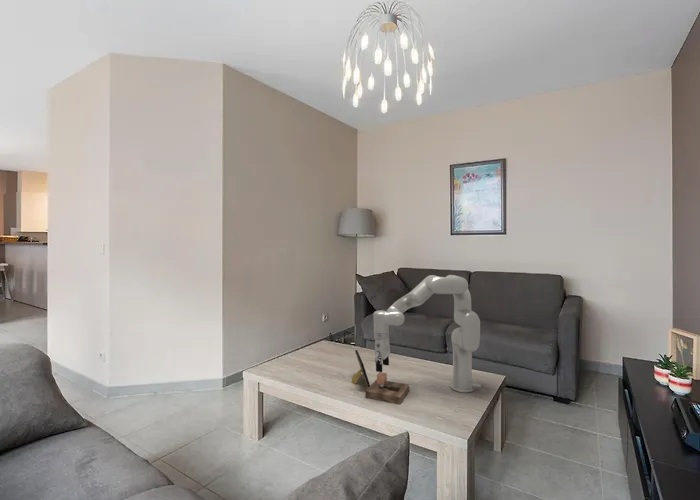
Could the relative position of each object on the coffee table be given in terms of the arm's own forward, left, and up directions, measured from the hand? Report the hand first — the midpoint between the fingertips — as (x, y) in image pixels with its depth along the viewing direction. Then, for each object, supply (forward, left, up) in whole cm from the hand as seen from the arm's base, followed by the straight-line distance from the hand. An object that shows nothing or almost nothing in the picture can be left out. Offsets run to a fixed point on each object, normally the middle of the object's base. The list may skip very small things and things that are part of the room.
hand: (382, 368), depth 180 cm
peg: (0, 0, -13) cm, 13 cm away
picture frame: (+16, -7, -13) cm, 22 cm away
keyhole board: (-3, 0, -13) cm, 13 cm away
